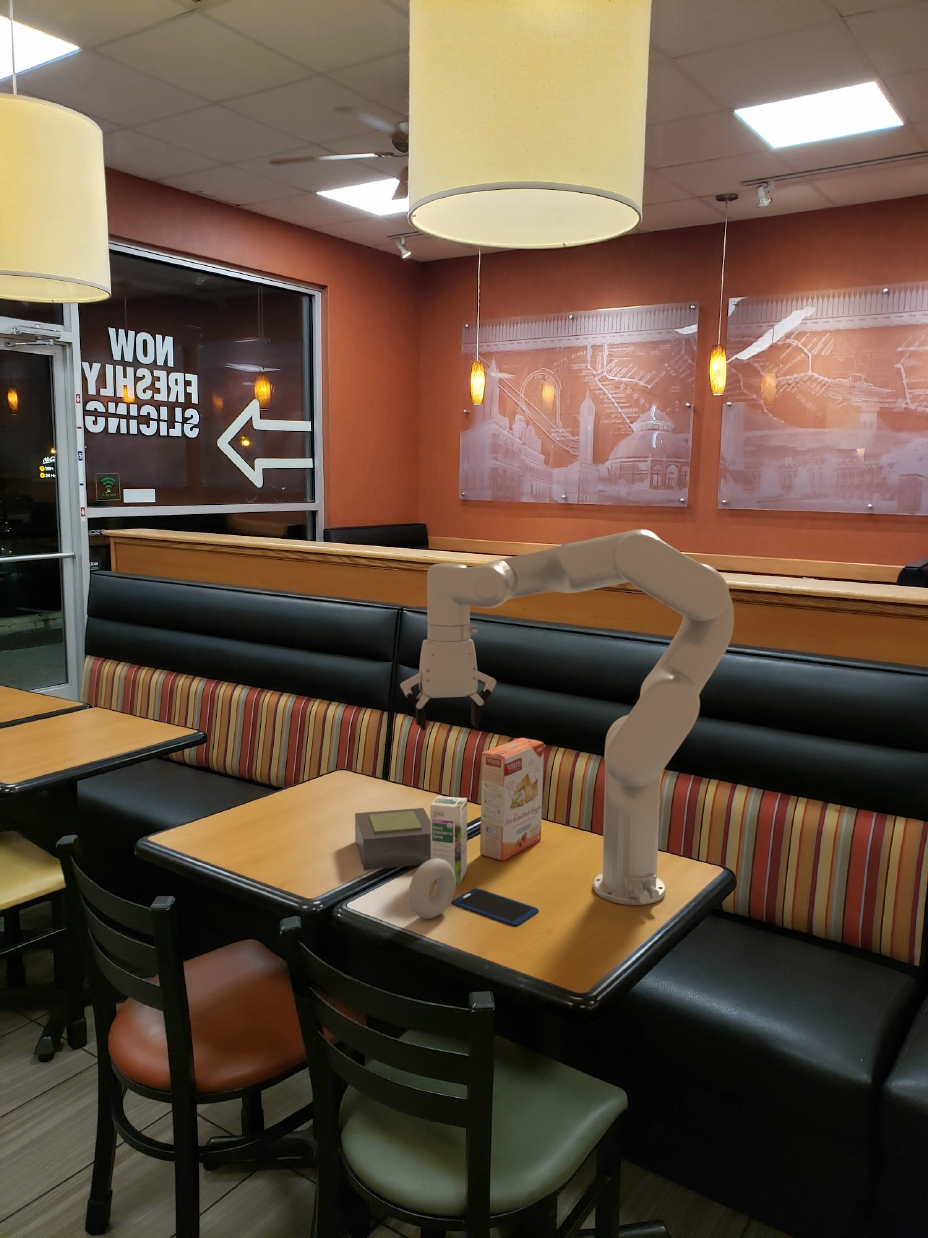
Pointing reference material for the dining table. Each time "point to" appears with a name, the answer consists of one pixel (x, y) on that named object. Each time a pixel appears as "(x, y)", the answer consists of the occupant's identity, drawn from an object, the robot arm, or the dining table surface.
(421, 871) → the donut
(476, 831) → the dining table surface
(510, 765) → the cracker box
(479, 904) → the cell phone
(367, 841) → the stand
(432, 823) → the syrup box
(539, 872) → the dining table surface
